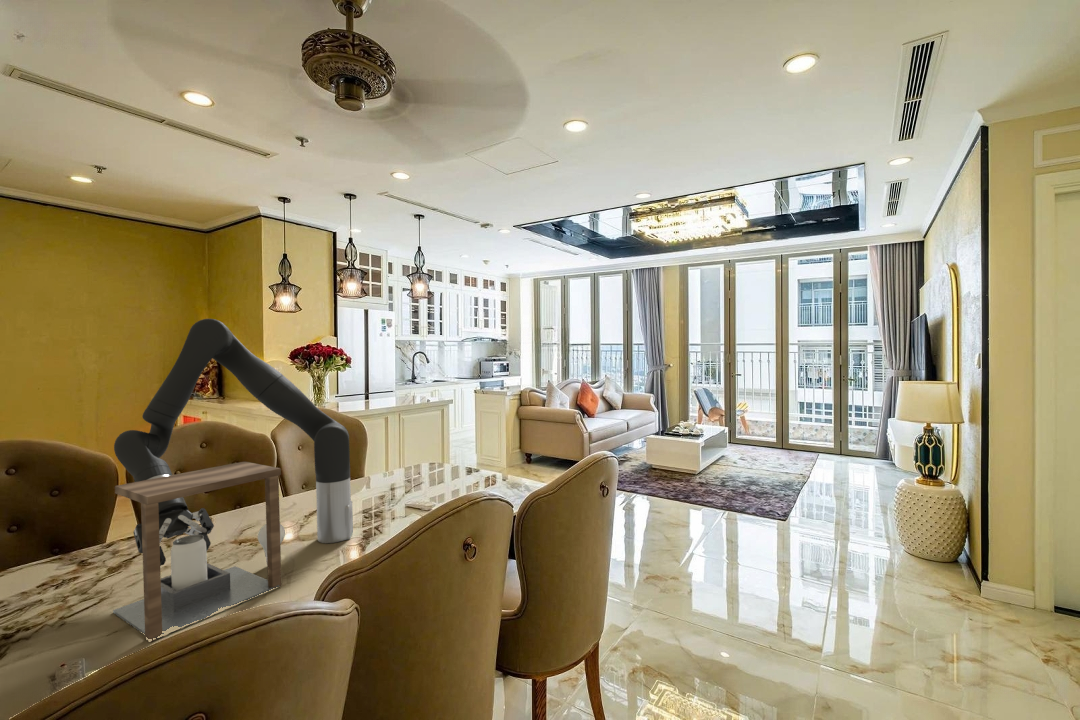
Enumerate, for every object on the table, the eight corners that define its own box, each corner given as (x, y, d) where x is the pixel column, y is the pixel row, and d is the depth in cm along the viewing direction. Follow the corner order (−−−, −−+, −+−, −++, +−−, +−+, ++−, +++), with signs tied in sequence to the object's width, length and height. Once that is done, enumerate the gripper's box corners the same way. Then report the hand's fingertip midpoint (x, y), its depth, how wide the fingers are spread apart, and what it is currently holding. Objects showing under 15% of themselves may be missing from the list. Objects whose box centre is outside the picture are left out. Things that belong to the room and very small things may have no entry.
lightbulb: (291, 562, 124) (290, 519, 124) (271, 572, 119) (270, 528, 119) (273, 559, 126) (272, 517, 126) (252, 569, 121) (251, 525, 121)
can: (188, 601, 104) (186, 546, 104) (164, 598, 105) (162, 544, 105) (214, 586, 110) (213, 534, 110) (191, 584, 112) (189, 533, 112)
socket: (113, 612, 101) (112, 594, 101) (235, 568, 121) (234, 552, 121) (152, 641, 90) (152, 620, 90) (279, 587, 111) (278, 570, 111)
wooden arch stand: (119, 620, 98) (114, 486, 98) (247, 572, 119) (244, 461, 119) (151, 644, 89) (147, 496, 89) (284, 587, 111) (280, 468, 110)
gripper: (129, 497, 107) (152, 558, 102) (200, 482, 120) (225, 536, 114) (120, 516, 110) (142, 578, 104) (191, 500, 122) (214, 554, 116)
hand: (185, 556), depth 109 cm, fingers open, 8 cm apart
